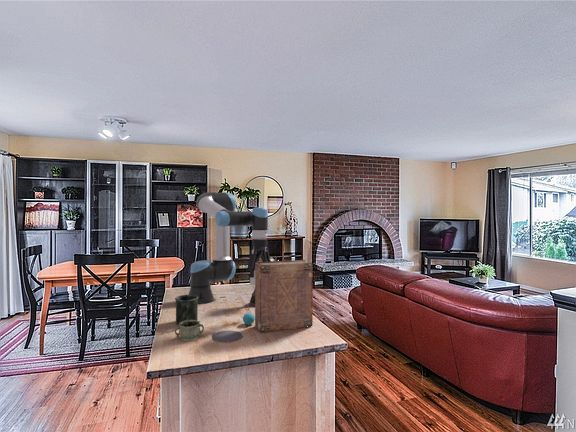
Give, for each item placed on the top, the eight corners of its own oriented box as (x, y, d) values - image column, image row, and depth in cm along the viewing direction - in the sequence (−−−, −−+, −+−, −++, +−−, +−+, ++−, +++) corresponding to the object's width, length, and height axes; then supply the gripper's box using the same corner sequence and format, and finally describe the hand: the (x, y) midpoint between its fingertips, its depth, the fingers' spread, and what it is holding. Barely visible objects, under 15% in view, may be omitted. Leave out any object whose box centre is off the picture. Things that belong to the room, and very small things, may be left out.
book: (304, 320, 167) (305, 259, 167) (312, 326, 159) (313, 262, 158) (254, 326, 158) (255, 262, 158) (260, 333, 150) (260, 265, 149)
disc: (205, 338, 142) (205, 338, 142) (224, 329, 154) (224, 328, 154) (231, 344, 137) (231, 343, 137) (248, 333, 148) (248, 333, 148)
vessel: (203, 332, 150) (203, 318, 150) (205, 340, 141) (205, 325, 141) (174, 335, 146) (174, 321, 146) (174, 343, 137) (174, 328, 137)
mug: (199, 318, 170) (199, 294, 170) (197, 327, 155) (197, 301, 155) (176, 319, 168) (176, 295, 167) (172, 329, 153) (172, 302, 153)
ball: (240, 325, 159) (240, 313, 159) (246, 321, 164) (247, 310, 164) (250, 327, 157) (250, 315, 157) (256, 323, 162) (256, 312, 162)
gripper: (253, 240, 156) (253, 287, 157) (277, 237, 179) (277, 277, 179) (240, 240, 159) (239, 285, 160) (265, 236, 182) (264, 276, 182)
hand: (259, 281), depth 169 cm, fingers open, 12 cm apart
